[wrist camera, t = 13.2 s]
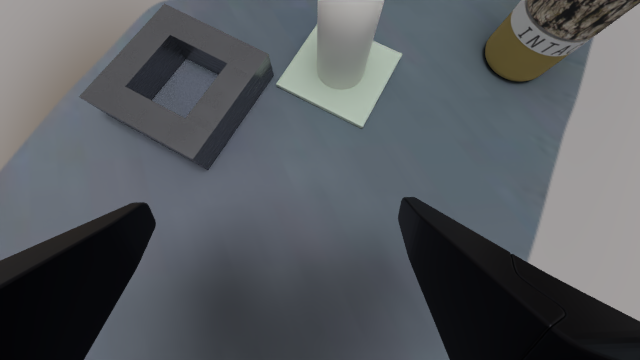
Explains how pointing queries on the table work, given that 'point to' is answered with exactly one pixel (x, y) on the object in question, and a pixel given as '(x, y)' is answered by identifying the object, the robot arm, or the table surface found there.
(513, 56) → the bark textured cylinder
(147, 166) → the table surface
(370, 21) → the plug
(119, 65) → the frame
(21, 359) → the robot arm
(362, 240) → the table surface
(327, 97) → the mat
